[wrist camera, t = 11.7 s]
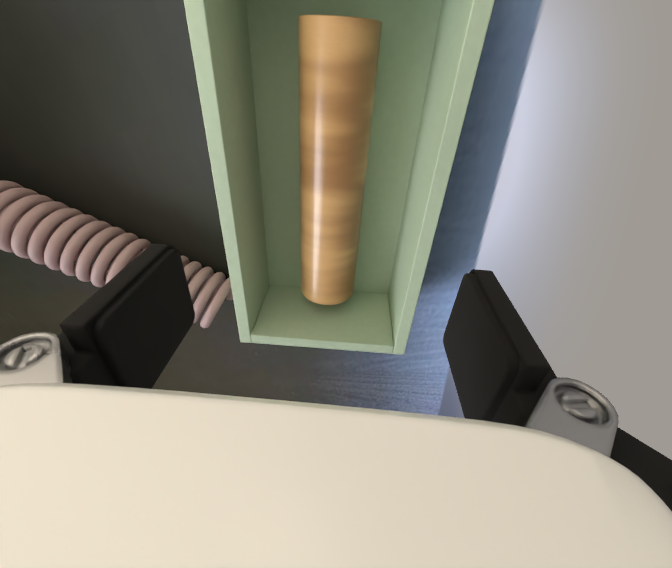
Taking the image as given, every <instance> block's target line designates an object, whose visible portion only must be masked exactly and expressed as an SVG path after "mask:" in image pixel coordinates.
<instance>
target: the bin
mask: <svg viewBox="0 0 672 568" xmlns="http://www.w3.org/2000/svg"><path fill="white" fill-rule="evenodd" d="M494 2H495V0H184V5H185V11H186V17H187V23H188V29H189V35H190V41H191V47H192V53H193V59H194V65H195V71H196V77H197V83H198V89H199V95H200V101H201V107H202V113H203V119H204V125H205V131H206V137H207V143H208V149H209V155H210V161H211V167H212V174H213V180H214V186H215V192H216V198H217V204H218V210H219V216H220V222H221V228H222V234H223V240H224V246H225V252H226V258H227V264H228V270H229V276H230V282H231V288H232V294H233V300H234V306H235V312H236V318H237V324H238V330H239V336H240V342H247V343H251V342H252V343H262V344H275V345H288V346H301V347H313V348H326V349H339V350H352V351H365V352H378V353H390V354H392V353H393V354H401V355H404V352H405V348H406V344H407V341H408V337H409V333H410V329H411V325H412V321H413V317H414V313H415V309H416V306H417V302H418V298H419V294H420V290H421V286H422V282H423V278H424V274H425V271H426V267H427V263H428V259H429V255H430V251H431V247H432V243H433V239H434V236H435V232H436V228H437V224H438V220H439V216H440V212H441V208H442V204H443V201H444V197H445V193H446V189H447V185H448V181H449V177H450V173H451V169H452V166H453V162H454V158H455V154H456V150H457V146H458V142H459V138H460V134H461V131H462V127H463V123H464V119H465V115H466V111H467V107H468V103H469V99H470V96H471V92H472V88H473V84H474V80H475V76H476V72H477V68H478V64H479V61H480V57H481V53H482V49H483V45H484V41H485V37H486V33H487V29H488V26H489V22H490V18H491V14H492V10H493V6H494ZM300 15H338V16H351V17H361V18H369V19H375V20H379V21H381V22H382V30H381V39H380V49H379V58H378V67H377V77H376V86H375V95H374V105H373V114H372V123H371V133H370V142H369V151H368V161H367V170H366V179H365V189H364V198H363V207H362V217H361V226H360V235H359V245H358V254H357V263H356V273H355V282H354V291H353V294H352V296H351V297H350V298H349V299H348V300H347V301H345V302H342V303H339V304H335V305H322V304H318V303H314V302H312V301H310V300H308V299H307V298H306V297H305V296H304V295H303V293H302V291H301V234H300V140H299V47H298V16H300Z"/></svg>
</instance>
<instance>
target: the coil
mask: <svg viewBox="0 0 672 568" xmlns="http://www.w3.org/2000/svg"><path fill="white" fill-rule="evenodd" d="M47 215H48V216H47ZM61 222H62V225H61ZM75 230H76V233H75V234H74V231H75ZM73 234H74V235H73ZM88 239H89V242H88V243H87V245H86V246H85V244H86V241H87V240H88ZM128 243H129V245H128ZM150 245H151V242H150V241H148V240H147V239H139V238H138V236H136V235H135V234H133V233H126V232H125V231H124V230H122V229H121V228H119V227H112V226H111V225H110V224H109V223H107V222H105V221H98V220H97V219H96V218H95V217H93V216H91V215H86V214H83V213H82V212H81V211H79V210H77V209H75V208H69V207H68V206H67V205H65V204H63V203H61V202H55V201H54V200H53V199H51V198H49V197H48V196H45V195H39V194H38V193H37V192H35V191H33V190H31V189H28V188H24V187H22V186H21V185H19V184H17V183H15V182H12V181H0V249H2V250H4V251H6V252H14V253H15V254H16V255H17V256H19V257H21V258H30V259H31V260H32V261H33V262H35V263H37V264H46V265H47V267H49V268H50V269H52V270H62V272H63V273H64V274H66V275H68V276H75V275H76V276H77V278H78V279H79V280H81V281H91V282H92V284H93V285H94V286H96V287H103V286H104V285H105V284H106V283H108V282H109V281H110V280H111V279H112V278H113V277H114V276H116V275H117V274H118V273H119V272H120V271H121V270H122V269H123V268H125V267H126V266H127V265H128V264H129V263H130V262H131V261H133V260H134V259H135V258H136V257H137V256H138V255H139V254H141V253H142V252H143V251H144V250H145V249H146V248H147V247H149V246H150ZM84 246H85V247H84ZM101 247H102V249H101V252H100V254H99V256H98V257H97V259H96V261H95V263H94V264H93V265H92V266H91V267H90V265H91V263H92V261H93V260H94V258H95V256H96V254H97V252H98V251H99V250H100V248H101ZM83 248H84V249H83ZM141 250H143V251H142V252H141ZM44 251H45V252H44ZM43 252H44V253H43ZM79 255H80V256H79ZM60 256H61V258H59V257H60ZM78 256H79V258H78ZM113 257H114V258H113ZM77 258H78V261H77V262H76V263H75V264H74V261H75V260H76V259H77ZM112 259H113V260H112ZM181 259H182V263H183V267H184V271H185V275H186V279H187V281H188V280H189V278H190V277H191V280H190V283H189V285H188V287H189V291H190V295H191V299H192V302H193V299H194V297H195V295H196V293H197V291H198V290H199V288H200V287H201V289H200V292H199V295H198V297H197V299H196V301H195V303H194V305H193V307H194V311H195V319H194V322H193V323H195V322H197V320H198V319H199V317H200V315H201V313H202V311H203V309H204V307H205V305H206V304H207V302H208V300H209V298H210V297H211V298H210V300H209V303H208V305H207V308H206V310H205V313H204V315H203V317H202V319H201V321H200V325H201V327H203V328H207V327H209V326H210V324H211V323H212V321H213V319H214V317H215V316H216V314H217V312H218V310H219V309H220V307H221V305H222V303H223V302H224V300H225V299H227V300H233V294H232V288H231V282H230V277H229V278H228V279H226V276H225V274H224V273H222V272H217V273H215V274H214V271H213V269H212V268H211V267H204V268H202V265H201V264H200V263H199V262H197V261H193V262H191V263H190V260H189V259H188V258H187V257H186V256H181ZM111 260H112V262H111ZM110 262H111V264H110V265H109V263H110ZM108 265H109V267H108ZM107 267H108V269H107ZM106 269H107V270H106ZM201 285H202V286H201Z"/></svg>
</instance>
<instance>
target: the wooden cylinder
mask: <svg viewBox="0 0 672 568" xmlns="http://www.w3.org/2000/svg"><path fill="white" fill-rule="evenodd" d="M381 30H382V22H381V21H379V20H375V19H369V18H361V17H351V16H338V15H300V16H298V47H299V140H300V234H301V291H302V293H303V295H304V296H305V297H306V298H307V299H308V300H310V301H312V302H314V303H318V304H322V305H335V304H339V303H342V302H345V301H347V300H348V299H349V298H350V297H351V296H352V294H353V291H354V282H355V273H356V263H357V254H358V245H359V235H360V226H361V217H362V207H363V198H364V189H365V179H366V170H367V161H368V151H369V142H370V133H371V123H372V114H373V105H374V95H375V86H376V77H377V67H378V58H379V49H380V39H381Z"/></svg>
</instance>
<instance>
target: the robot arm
mask: <svg viewBox="0 0 672 568" xmlns="http://www.w3.org/2000/svg"><path fill="white" fill-rule="evenodd" d="M194 319H195V311H194V307H193V303H192V299H191V295H190V291H189V287H188V283H187V279H186V275H185V271H184V267H183V263H182V259H181V255H180V252H179V251H178V250H175V248H174V247H173V246H172V245H166V244H151V245H150V246H149V247H147V248H146V249H145V250H144V251H143V252H142V253H141V254H139V255H138V256H137V257H136V258H135V259H134V260H133V261H131V262H130V263H129V264H128V265H127V266H126V267H125V268H123V269H122V270H121V271H120V272H119V273H118V274H117V275H116V276H114V277H113V278H112V279H111V280H110V281H109V282H108V283H106V284H105V285H104V286H103V287H102V288H101V289H100V290H98V291H97V292H96V293H95V294H94V295H93V296H92V297H90V298H89V299H88V300H87V301H86V302H85V303H84V304H82V305H81V306H80V307H79V308H78V309H77V310H76V311H75V312H73V313H72V314H71V315H70V316H69V317H68V318H67V319H65V320H64V321H63V322H62V323H61V324H60V327H61V328H62V330H63V332H62V333H61V334H60V335H59V336H57V335H55V334H53V333H49V332H34V333H29V334H25V335H21V336H19V337H16V338H13V339H11V340H9V341H7V342H5V343H3V344H1V345H0V568H672V460H670V459H668V458H667V457H665V456H664V455H662V454H661V453H659V452H657V451H656V450H654V449H652V448H651V447H649V446H647V445H646V444H644V443H643V442H641V441H639V440H638V439H636V438H634V437H633V436H631V435H630V434H628V433H626V432H625V431H623V430H621V429H620V428H618V414H617V412H616V410H615V408H614V406H613V405H612V404H611V403H610V401H609V400H608V399H607V398H606V397H605V396H604V395H602V394H601V393H600V392H599V391H597V390H596V389H594V388H593V387H591V386H589V385H587V384H585V383H583V382H581V381H578V380H574V379H570V378H557V377H556V375H555V374H554V372H553V370H552V369H551V367H550V365H549V363H548V362H547V360H546V359H545V357H544V355H543V354H542V352H541V350H540V349H539V347H538V345H537V344H536V342H535V341H534V339H533V337H532V336H531V334H530V332H529V331H528V329H527V327H526V326H525V325H524V323H523V321H522V319H521V318H520V316H519V314H518V313H517V311H516V310H515V308H514V306H513V305H512V303H511V301H510V300H509V298H508V296H507V295H506V293H505V292H504V290H503V288H502V287H501V285H500V283H499V282H498V280H497V278H496V277H495V275H494V274H493V272H492V271H486V270H474V269H473V270H471V272H470V273H469V274H468V273H466V274H465V275H464V276H463V279H462V282H461V285H460V288H459V291H458V294H457V297H456V300H455V303H454V306H453V309H452V312H451V315H450V318H449V321H448V324H447V327H446V330H445V333H444V338H443V342H444V347H445V351H446V354H447V358H448V361H449V365H450V368H451V372H452V375H453V379H454V382H455V386H456V389H457V393H458V396H459V400H460V403H461V406H462V410H463V413H464V417H465V418H456V417H447V416H439V415H430V414H420V413H410V412H399V411H389V410H379V409H368V408H358V407H348V406H337V405H327V404H316V403H305V402H294V401H283V400H272V399H261V398H250V397H239V396H228V395H217V394H205V393H193V392H182V391H170V390H158V389H151V388H152V387H153V385H154V383H155V382H156V380H157V379H158V377H159V376H160V374H161V373H162V371H163V369H164V368H165V366H166V365H167V363H168V362H169V360H170V358H171V357H172V355H173V354H174V352H175V351H176V349H177V348H178V346H179V344H180V343H181V341H182V340H183V338H184V337H185V335H186V333H187V332H188V330H189V329H190V327H191V326H192V324H193V322H194Z"/></svg>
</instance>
